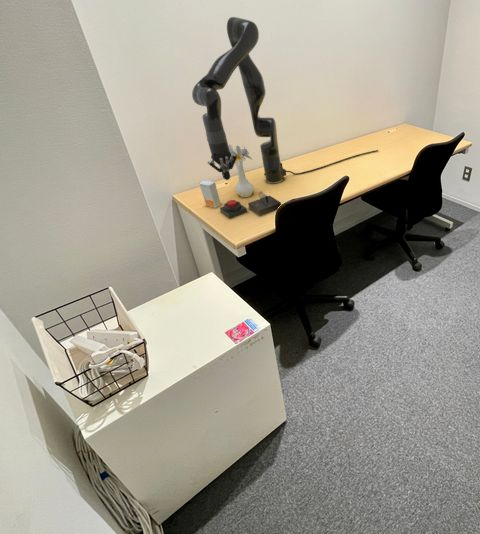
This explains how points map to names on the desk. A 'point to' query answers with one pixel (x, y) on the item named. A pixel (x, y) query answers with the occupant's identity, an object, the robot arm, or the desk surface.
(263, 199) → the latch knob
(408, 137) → the desk surface
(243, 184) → the flower vase
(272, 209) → the rotary lever switch
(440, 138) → the desk surface
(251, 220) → the desk surface
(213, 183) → the cosmetic box
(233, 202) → the button
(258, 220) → the desk surface
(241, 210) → the button box
